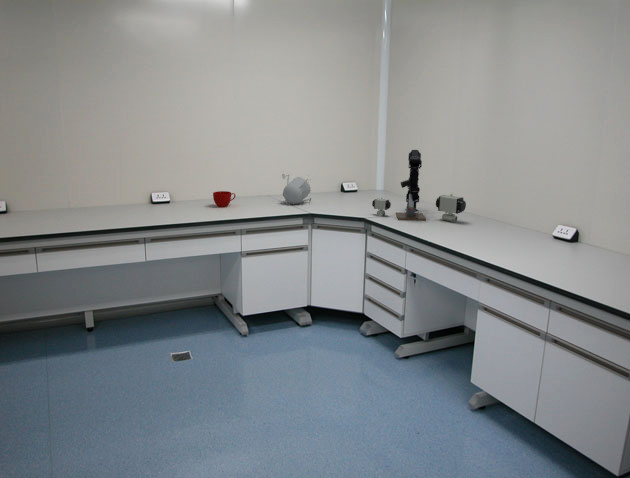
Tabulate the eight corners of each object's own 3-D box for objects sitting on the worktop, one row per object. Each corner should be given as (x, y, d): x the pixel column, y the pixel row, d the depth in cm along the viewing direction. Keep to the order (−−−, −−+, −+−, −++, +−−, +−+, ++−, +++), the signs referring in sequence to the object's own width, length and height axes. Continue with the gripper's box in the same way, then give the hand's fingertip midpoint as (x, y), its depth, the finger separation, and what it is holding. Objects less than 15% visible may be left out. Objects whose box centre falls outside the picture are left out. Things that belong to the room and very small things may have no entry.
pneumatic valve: (387, 217, 364) (388, 199, 361) (371, 215, 369) (372, 197, 366) (390, 215, 368) (391, 198, 365) (374, 213, 374) (375, 196, 371)
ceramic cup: (239, 206, 393) (239, 192, 391) (217, 208, 384) (217, 194, 382) (231, 203, 404) (231, 190, 401) (210, 205, 395) (210, 192, 392)
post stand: (395, 214, 372) (396, 204, 370) (422, 215, 371) (422, 205, 369) (398, 220, 355) (398, 209, 353) (425, 220, 354) (426, 210, 352)
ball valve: (465, 222, 351) (467, 195, 347) (459, 224, 345) (461, 196, 341) (440, 218, 363) (442, 191, 358) (434, 220, 357) (436, 193, 352)
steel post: (408, 208, 363) (409, 193, 361) (412, 209, 363) (413, 193, 360) (408, 209, 360) (409, 194, 358) (413, 209, 360) (414, 194, 357)
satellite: (272, 181, 397) (301, 187, 385) (287, 168, 410) (315, 174, 397) (278, 207, 410) (305, 214, 398) (292, 194, 423) (319, 200, 411)
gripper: (400, 174, 365) (399, 197, 369) (402, 178, 347) (401, 202, 351) (417, 174, 365) (415, 197, 369) (420, 178, 347) (419, 202, 351)
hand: (412, 200), depth 360 cm, fingers open, 9 cm apart
